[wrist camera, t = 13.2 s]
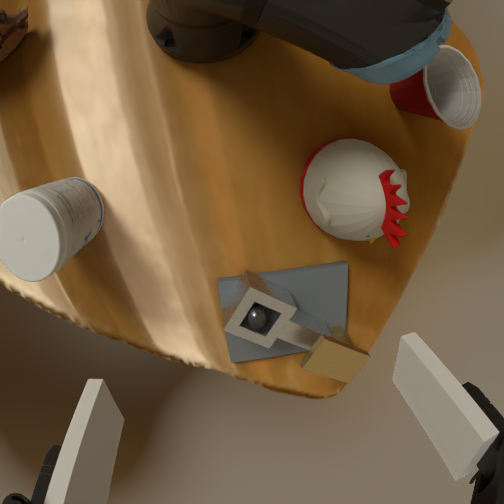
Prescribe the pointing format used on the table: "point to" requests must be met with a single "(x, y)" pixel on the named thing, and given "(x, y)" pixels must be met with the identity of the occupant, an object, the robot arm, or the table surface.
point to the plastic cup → (442, 90)
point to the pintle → (256, 315)
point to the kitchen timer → (355, 191)
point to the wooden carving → (12, 30)
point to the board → (305, 298)
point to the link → (270, 314)
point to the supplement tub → (48, 226)
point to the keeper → (335, 356)
